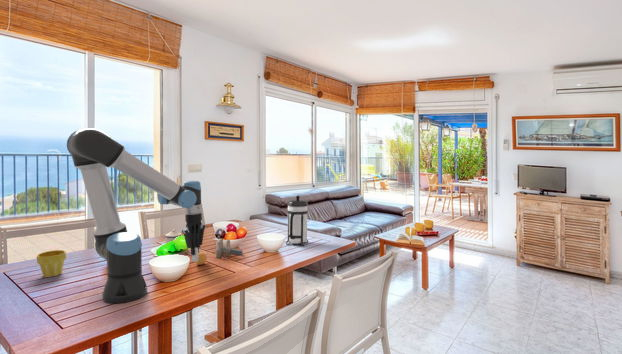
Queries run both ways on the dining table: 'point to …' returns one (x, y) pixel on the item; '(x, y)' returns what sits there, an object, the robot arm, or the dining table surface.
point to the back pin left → (221, 245)
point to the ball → (201, 258)
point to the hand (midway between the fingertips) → (195, 260)
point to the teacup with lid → (172, 236)
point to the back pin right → (227, 248)
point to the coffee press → (297, 221)
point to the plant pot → (51, 262)
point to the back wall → (234, 251)
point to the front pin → (218, 249)
